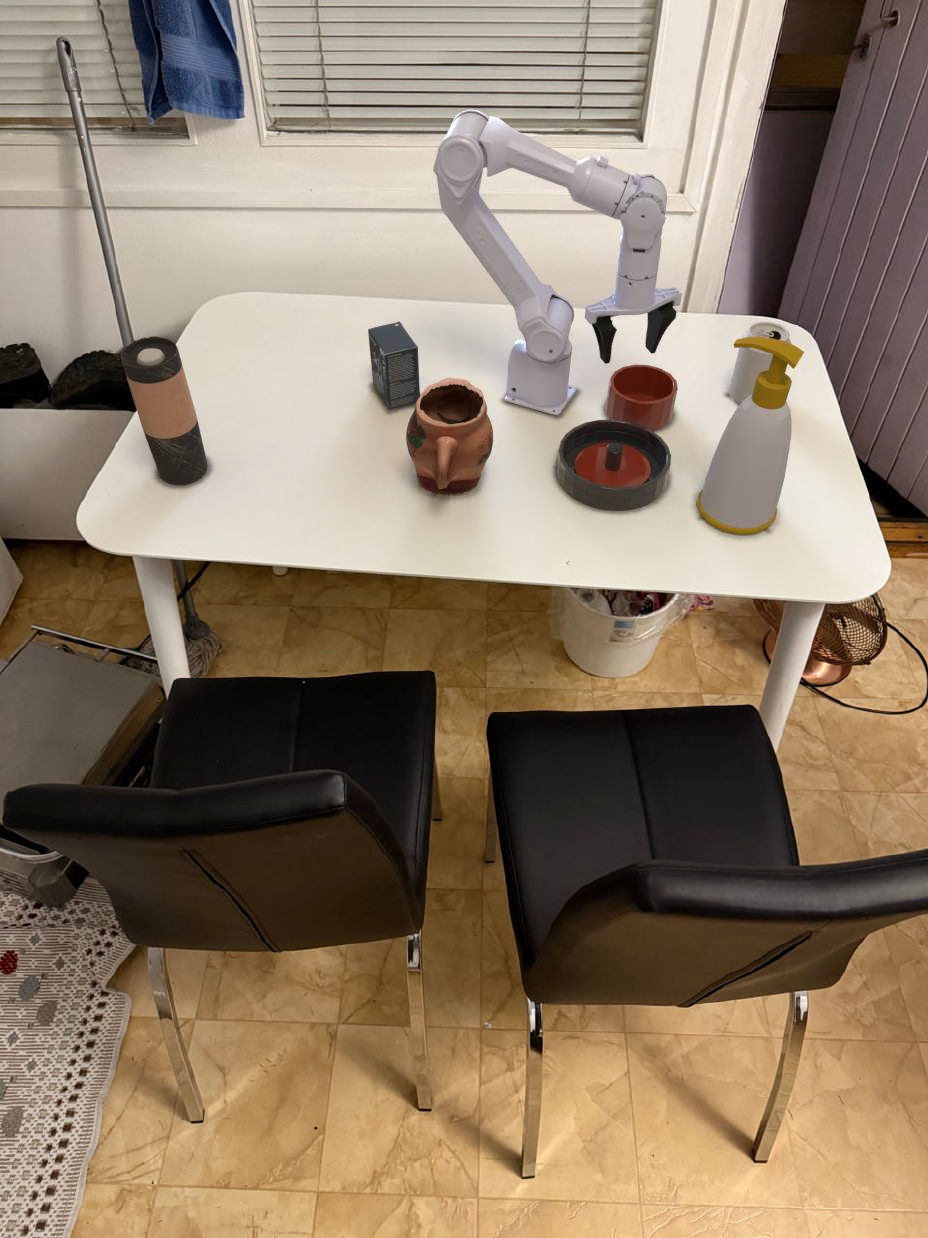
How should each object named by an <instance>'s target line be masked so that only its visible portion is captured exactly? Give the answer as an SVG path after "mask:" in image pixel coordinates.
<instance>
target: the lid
mask: <svg viewBox="0 0 928 1238" xmlns="http://www.w3.org/2000/svg"><path fill="white" fill-rule="evenodd" d="M574 469H575V473H576V474H577V475H579V476H581V477H583V478H584V479H586V480H588V481H590V482H594V483H597V484H600V485H605V486H613V487H631V486H635V485H640V484H644V483H646V482H647V481H648V479H649V477H650V473H651V466H650V463H649V461H648V459H647V458H646V457H645V456H644V455H643V454H642V453H641V452H639V451H638V450H636V449H634V448H632V447H630V446H627V445H624V444H619V443H599V444H594V445H591V446H589V447H587V448H585V449H583V450H582V451H581V452H580V453H579V454H578V455H577V457H576V459H575V463H574Z"/></svg>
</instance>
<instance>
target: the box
mask: <svg viewBox="0 0 928 1238" xmlns="http://www.w3.org/2000/svg"><path fill="white" fill-rule="evenodd" d="M367 333H368V347H369V355H370V363H371V364H370V365H371V376H372V377H371V378H372V385H373V387H374V388H375V390H376V391H377V393H378V395H379V396H380V398H381V400H382V402H383V403H384V404H385V406H386V409H387V410H388V411H393V410H398V409H402V408H405V407H410V406H413V405H414V406H415V405H416V402H417V400H418V398H419V397H420V396H421V389H420V388H421V387H420V367H419V366H420V365H419V363H420V362H419V346H418V345H417V343H416V342H415V341H414V339H413V338H412V337H411V336H410V334H409V332H407V330H406V328H405V327H404V325H403V323H402V322H401V321H396V322H392V323H388V324H382V325H378V326H374V327H371V328H368V329H367Z"/></svg>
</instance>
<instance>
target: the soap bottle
mask: <svg viewBox="0 0 928 1238" xmlns="http://www.w3.org/2000/svg"><path fill="white" fill-rule="evenodd" d="M741 347H747V348H755V349H758V350H761V351H764V352H767V353H770V354H773V357H772V361H771V364H770V367H769V370H766V371H763V372H761V373H759V374H758V376H757V379H756V383H755V387H754V390H753V393H752V394H751V395H750V396H748V397H747V398H746V399H745V400H743V402H742V403H741V404H739V406H738V407H737V408H736V409H735V411H734V412H733V414H732V415H731V417H730V418H729V420H728V422H727V424H726V426H725V429H724V431H723V432H722V435H721V437H720V439H719V441H718V443H717V446H716V448H715V450H714V453H713V456H712V458H711V461H710V464H709V466H708V469H707V473H706V475H705V480H704V484H703V487H702V490H700V491H699V492H698V496H697V500H696V505H697V508H698V512H699V514H700V516H701V517H702V518H703V519H704V520H705V521H706V522H707V523H708V525H710V526H713V527H714V528H716V529H717V530H720V531H722V532H724V533H730V534H735V535H738V536H739V535H755V534H757V533H760V532H763V531H765V530H767V529H768V528H769V527H770V526H771V525H772V524H773V523H774V522H775V521H776V519H777V513H778V505H779V502H780V497H781V494H782V491H783V490H782V489H783V486H784V481H785V477H786V472H787V466H788V459H789V456H790V455H789V454H790V449H791V441H792V432H793V431H792V427H793V426H792V414H791V408H790V406H789V404H788V402H787V399H788V396H789V393H790V390H791V387H792V384H793V380H792V379H791V377H790V376H789V375H788V374H786V371H787V368H788V366H790V367H791V368H792V369H793V370H794V369H795V368H796V367H797V365H798V363H799V362H800V360H801V359H802V357H803V355H804V354H805V351H804V350H802V348H801V349H800V347H798V346H796V345H794V344H792V343H791V344H790V343H787V342H785V341H781V340H776V339H772V338H766V337H760V336H758V337H746V338H742V337H741V338H737V339H735V341H734V342H733V348H734V349H739V348H741Z"/></svg>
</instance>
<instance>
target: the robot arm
mask: <svg viewBox="0 0 928 1238" xmlns="http://www.w3.org/2000/svg"><path fill="white" fill-rule="evenodd" d="M484 168H485V169H486V177H487V178H488V177H492V176H494V175H495V176H496V175H498V174H499V173H502V172H504V171H506V170H509V169H514V170H516V171H519V172H523V173H524V174H525V173H526V174H528V175H531V176H533V177H535V178H539V179H542V180H544V181H548V182H550V183H552V184H555V185H557V186H561V187H563V188H566V190H567V191H568V193H569V195H570V198H571V200H572V201H573V202H574V203H577V204H579V205H581V206H584V207H586V208H589V209H590V210H593V211H595V212H598V213H599V214H602V215H604V216H607V217H610V218H612V219H614V220H618V221H620V225H621V226H622V234H621V236H620V238H619V245H618V246H619V247H618V257H617V268H616V275H615V276H616V277H615V286H614V287H615V288H614V294H612V295H609V296H607V297H605V298H603V299H601V300H599V301H597V302H594V303H592V304H588V305H585V308H584V309H585V310H584V319H585V320H586V322H587V323H588V324H590V325H591V326H592V329H593V332H594V334H595V337H596V342H597V344H598V350H599V358H600V359H601V361H602V362H603V363H604V364H605V365H607V364H610V362H611V359H612V349H613V342H614V340H615V336H616V333H617V331H618V329H617V328H616V326H615V325H614V324H613V320H612V318H613V317H619V316H640V315H645V314H647V324H646V325H647V327H646V332H645V333H646V334H645V348H646V349H647V351H648V352H649V353H650V354H651V355H653V354H656V352H657V349H658V347H659V344H660V343H661V340H662V338H663V336H664V334H665V332H666V330H668V328H669V326H671V324H672V323H673V322H674V321H675V320H676V319H677V310H676V309H675V307H677V306H681V302H682V301H681V300H682V295H683V293H682V292H681V290H679V289H678V287H668V288H666V287H665V288H656V287H657V278H658V272H659V265H660V256H661V248H662V241H663V240H662V235H663V227H664V225H665V223H666V220H667V217H666V213H667V212H666V211H667V201H668V192H667V189H666V186H665V185H664V182H662V181H661V180H660V179H659V178H657V177H656V176H655V175H653V174H652V173H651V174H650V173H646V174H645V173H644V174H639V173H636V172H634V173H633V174H631V173H629V172H626V171H624V170H622V169H620V168H617V167H615V166H613V165H611V164H609V159H608V158H606V157H605V156H602V155H600V156H599V157H598V159H597V158H594V157H592V156H587V157H586V158H583V159H580V160H575V159H574V158H571V157H569V156H568V155H565V154H563V153H561V152H559V151H557V150H555V149H553V148H551V147H549V146H547V145H545V144H543V143H542V142H540V141H538V140H536V139H534V138H532V137H531V136H528V135H526V134H524V133H522V132H520V131H518V130H516V129H514V128H513V127H511V126H510V125H509V124H508V123H506V122H504V121H503V120H502V119H500V118H499V117H495V116H488V115H486V113H483V111H480V110H477V109H467V110H463V111H461V112H460V113H458V114H457V115H456V116H455V117H454V118H453V120H452V122H451V124H450V127H449V130H448V131H447V133H446V135H445V137H444V138H443V140H442V141H441V143H439V146H438V148H437V151H436V155H435V160H434V165H433V168H432V171H433V173H434V175H435V176H436V182H437V189H438V196H439V203H440V208H441V210H442V212H443V214H444V215H445V217H447V219H448V220H449V222H450V223H451V224H452V226H453V227H454V228H455V230H456V231H457V233H458V234H459V235H460V236H461V238H462V239H463V241H464V242H465V243H466V245H467V246H468V248H469V249H470V250H471V252H472V253H473V254H474V256H475V257H476V259H477V260H478V261H479V263H480V264H481V266H482V267H483V268H484V269H485V271H486V273H488V275H489V276H490V277H491V279H492V280H493V282H494V283H495V284H496V286H497V287H498V288H499V290H500V291H501V293H502V294H503V296H504V297H505V298H506V299H507V301H508V302H509V304H510V305H511V307H513V310H514V313H515V314H514V315H515V317H516V323H517V328H518V330H519V332H520V333H521V334H522V336H523V338H524V339H517V340H516V341H515V343H514V345H513V346H512V348H511V351H510V354H509V357H508V362H507V364H508V365H507V379H506V380H507V381H506V395H505V397H504V401H505V402H507V403H511V404H514V405H517V406H521V407H525V408H527V409H532V410H536V411H539V412H542V413H544V414H545V413H546V414H549V415H552V416H557V417H558V416H560V415H561V413H562V412H563V411H564V409H565V407H566V406H567V405H568V404H569V401H571V399H572V398H573V397H574V395H575V394H576V392H577V388H576V387H574V386H571V385H569V382H570V372H571V362H572V353H573V352H572V351H573V344H572V342H571V340H570V339H569V336H570V331H571V327H572V325H573V321H574V319H575V310H574V307H573V304H572V303H571V302H570V301H569V300H568V299H567V298H566V297H564V296H563V295H560V294H558V293H557V292H556V291H555V289H554V288H553V286H552V285H551V284H547V283H543V282H542V281H541V280H540V279H539V278H538V276H537V275H536V273H535V272H534V270H533V269H532V267H531V266H530V265H529V263H528V262H527V260H526V259H525V258H524V256H523V255H522V253H521V252H520V251H519V249H518V248H517V246H516V245H515V243H514V242H513V241H512V239H511V238H510V237H509V235H508V234H507V231H505V229H504V228H503V226H502V225H501V224H500V222H499V221H498V219H497V218H496V216H495V215H494V213H493V212H492V211H491V210H490V208H489V207H488V205H487V203H486V202H485V200H484V199H483V198H482V196H481V195H480V188H481V183H482V178H483V173H484Z"/></svg>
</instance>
